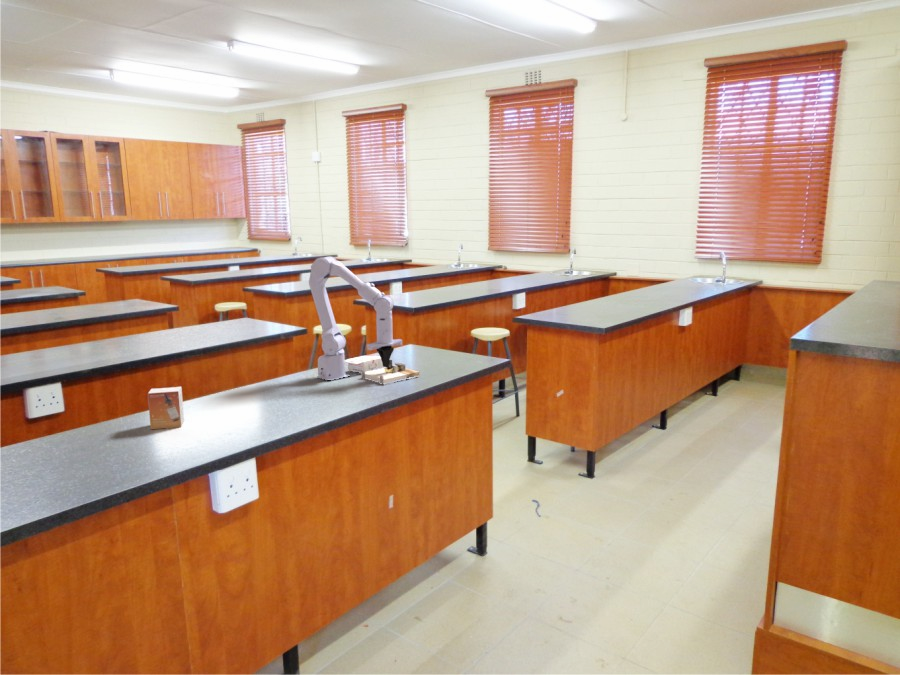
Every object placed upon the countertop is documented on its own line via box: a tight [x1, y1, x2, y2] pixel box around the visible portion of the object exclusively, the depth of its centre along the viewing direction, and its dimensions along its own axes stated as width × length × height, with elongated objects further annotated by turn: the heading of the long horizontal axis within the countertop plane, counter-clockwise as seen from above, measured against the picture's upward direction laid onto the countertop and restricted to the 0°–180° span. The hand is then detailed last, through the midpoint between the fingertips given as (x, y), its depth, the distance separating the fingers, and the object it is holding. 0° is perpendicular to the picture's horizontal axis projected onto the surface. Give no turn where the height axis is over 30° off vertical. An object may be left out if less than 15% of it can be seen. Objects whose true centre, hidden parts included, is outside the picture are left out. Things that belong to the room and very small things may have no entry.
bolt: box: [384, 359, 401, 373], centre depth 222 cm, size 8×2×4 cm, turn 133°
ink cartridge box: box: [345, 354, 383, 373], centre depth 231 cm, size 9×5×15 cm
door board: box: [360, 364, 407, 384], centre depth 218 cm, size 11×14×4 cm
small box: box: [147, 386, 185, 430], centre depth 168 cm, size 8×6×10 cm
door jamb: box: [385, 362, 420, 378], centre depth 224 cm, size 5×14×4 cm, turn 43°
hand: (385, 366), depth 219 cm, fingers closed
